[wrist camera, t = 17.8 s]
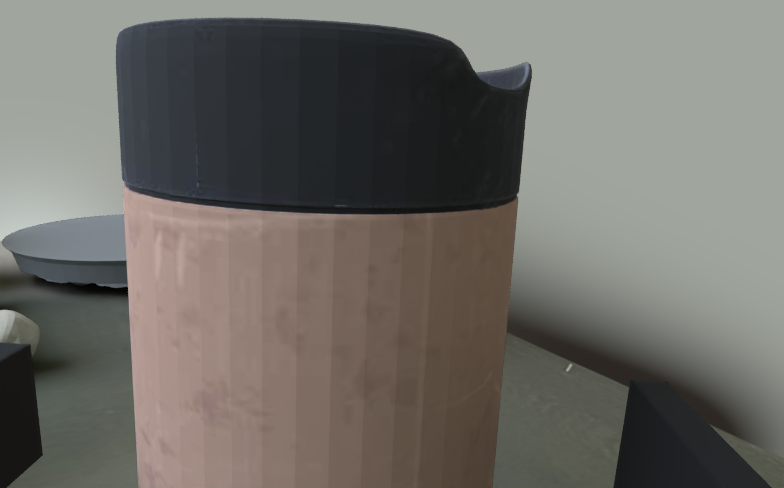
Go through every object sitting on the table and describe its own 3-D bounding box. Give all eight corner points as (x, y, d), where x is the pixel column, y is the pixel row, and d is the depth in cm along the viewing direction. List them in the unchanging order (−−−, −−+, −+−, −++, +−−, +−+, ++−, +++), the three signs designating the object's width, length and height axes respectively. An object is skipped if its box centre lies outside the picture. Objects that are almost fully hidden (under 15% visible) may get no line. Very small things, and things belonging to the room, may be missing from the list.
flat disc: (295, 274, 68) (296, 240, 67) (38, 323, 49) (33, 276, 48) (198, 235, 87) (197, 208, 86) (-13, 259, 68) (-18, 225, 67)
